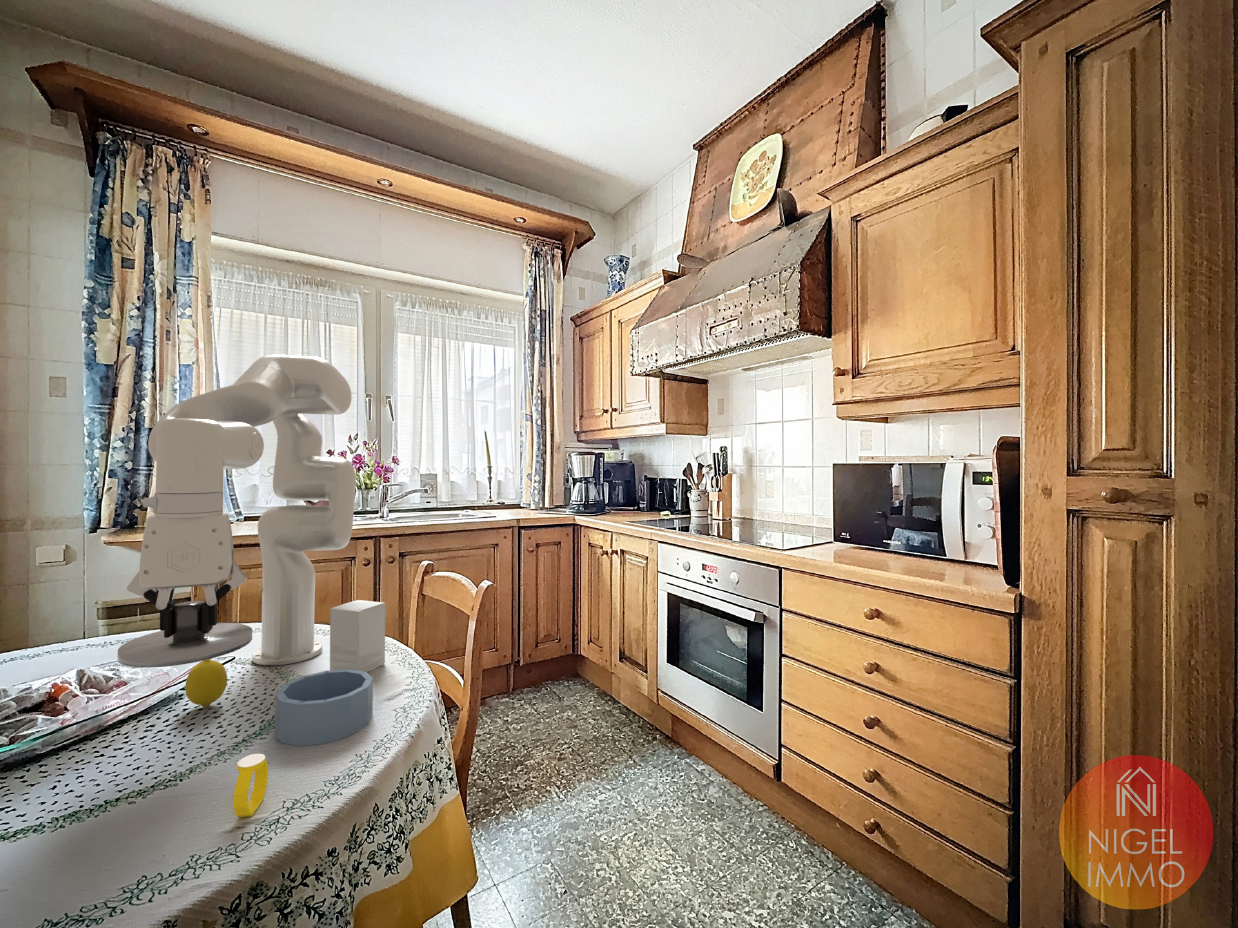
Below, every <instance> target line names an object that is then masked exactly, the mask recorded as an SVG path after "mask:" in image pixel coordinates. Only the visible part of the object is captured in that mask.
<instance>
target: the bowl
mask: <svg viewBox="0 0 1238 928" xmlns="http://www.w3.org/2000/svg"><path fill="white" fill-rule="evenodd" d="M274 696H275V697H274V734H275V736H276V738H277V740H278V742H279V743H283V744H288V745H291V746H296V747H301V746H313V745H323V744H324V745H325V744H328V743H332V742H334V741H338V740H341V739H344V738H348V737H350V736H352V735H354V734H355V733H357V732H359V731H361V729H364V728H365V727H367V726H368V725H369V723H370V721H371V719H372V717H373V711H374V710H373V706H374V702H373V698H374V677H372V676H371V675H370V674H369V673H368V672H363V671H357V670H350V669H346V670H331V671H330V670H325V671H324V670H323V671H319V672H314V673H312V674H311V673H310V674H307V675H303V676H300V677H298V678H295V679H293V680H291V681H289V682H286V683H284V684H283V685H282V686H281V687H280V688H279V689H278V690H276V692H275V693H274Z"/></svg>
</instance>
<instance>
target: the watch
mask: <svg viewBox="0 0 1238 928" xmlns="http://www.w3.org/2000/svg"><path fill="white" fill-rule="evenodd" d="M267 761H268V760H267V758H266V755H265V754H263V753H252V754H249V755H246V756H244V757H242V758H241V759H240V760H238V761H237V765H236V769H237V771H238V772H239V774H238V776H237V779H236V781H235V782H236V783H235V787H234V792H233V793H234V794H233V804H232V805H233V812H234V816H236V817H237V818H239V817H241V818H246V817H247V818H249V817H252V816H255V815H254V814H255V812H256V811H257V809H258V808H259V807H260V805H261V803H262V802H263V801H264V798H265V794H266V790H267V785H268V780H269V764H268V762H267ZM253 775H254V782H253V788H252V792H251V795H250V798H249V790H250V786H251V780H252V777H253Z"/></svg>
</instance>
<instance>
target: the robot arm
mask: <svg viewBox="0 0 1238 928" xmlns="http://www.w3.org/2000/svg"><path fill="white" fill-rule="evenodd" d="M351 403H352V390H351V386H350V384H349V383H348V380H347V379H346V378H345V377H344V376H343V375H342V373H341V372H340V371H339V370H338V369H337V368H336V367H335V366H334V365H333V364H332V363H330V362H329V361H328V360H326V359H323V358H321V357H318V356H306V355H305V356H304V355H303V356H302V355H287V354H269V355H265V356H262V357H260V358H258V359H257V360H255V361H254V362H253V363H252V364H251V365H249V367H248V368H247V369H246V371H245V372H243V374H241V375H240V376H239V378H238V379H237V380H236V381H235V382H234V383H233V384H230V385H228V386H227V385H226V386H224V387H221V388H216V389H214V390H211V391H207V392H206V393H202V394H198V395H195V396H193V397H190V398H188V399H184V400H182V401H181V402H179V403H177V404H175V405H174V406H173V407H172V408H170V409H169V410H168V411H167V412H166V413H165V414H163V415H162V417H160V419H158V421H157V422H156V423H155V425H154V426H153V428H152V429H151V431H150V433H149V437H148V443H147V446H148V448H147V449H148V452H149V454H150V456H151V458H152V459H153V460H154V461H155V462H156V465H155V466H156V467H155V468H156V471H155V473H156V474H155V476H156V477H155V479H156V480H155V483H156V486H155V493H154V495H152V496H150V497H143V499H142V507H143V508H149V509H152V510H153V512H154V513H155V515H149V516H147V518H146V523H145V525H144V526H145V527H144V532H143V537H142V543H141V550H140V558H139V568H138V570H139V571H138V572H137V573H136V574H135V576H134V577H133V578H132V580H131V581H130V583H128V585H127V587H126V590H127V591H128V592H129V593H132V594H135V595H137V596H140V597H143V598H145V599H146V600H147V601H148V602H150V603H151V604H153V606H155V608H156V609H157V610H159V631H163V630H164V638H169V637H170V636H172V635H173V606H174V605H175V604H176V603H175V600H174V597H175V592H176V589H177V588H189V587H191V588H192V587H193V588H194V587H203V591H204V597H205V598H204V599H205V600H204V602H205V605H204V606H203V607H202V630H201V632H202V633H203V634H208V633H209V632H210V630H211V629H212V628H213V626H215V625H216V624H217V623H218V615H219V614H218V612H219V611H218V606H219V605H218V602H219V601H220V600H221V599H223V598H224V597H225V596H226V595H227V594H228V593H229V592H230V591H232V590H234V589H236V588H238V587H240V586H241V585H244V583H246V582H247V581H248V577H247V576H246V574H245V573H244V571H243V570H242V568H241V567H240V566H239V565H238V564H237V562H236V561H235V551H234V549H235V548H234V537H233V531H232V525H231V520H230V516H229V513H227V512H224V510H223V509H224V470H239V469H240V470H241V469H246V468H249V467H251V466H253V465H255V464H256V463H257V462H258V461H260V459H261V457H262V455H263V453H264V449H265V442H264V439H263V436H262V434H261V432H260V431H259V430H258V429H257V428H256V427H259V426H262V425H266V424H269V423H271V422H272V423H273V424H274V427H275V428H274V429H276V435H277V441H276V443H277V444H276V450H275V451H276V452H275V459H274V467H273V477H272V490H273V493H274V494H275V495H276V497H278V498H280V499H282V500H287V501H327V502H328V505H280V506H275V507H272V508H269V509H267V510H265V511H264V512H263V513H262V514H261V515H260V517H259V519H258V522H257V536H258V540H259V546H260V551H261V552H260V553H261V560H262V561H261V564H262V566H261V567H262V584H261V585H262V586H261V587H262V589H261V648H259V649H257V650H255V651H254V653H252V655H251V656H252V657H251V661H252V662H253V663H255V664H256V665H260V666H282V665H290V664H295V663H300V662H303V661H306V660H309V659H311V658H312V659H313V658H315V657H316V656H318V655H320V654H321V652H322V651H323V644H322V643H320V642H319V641H317V640H316V641H315V605H316V604H315V598H316V597H315V595H316V589H315V588H316V570H315V567H314V565H313V562H311V559H309V557H308V556H307V555H306V553H304V552H312V551H315V552H316V551H317V552H319V551H338V550H342V549H344V548H346V547H347V546H348V544H349V543H350V541H351V538H352V534H353V533H352V532H353V524H354V522H353V521H354V512H355V501H356V489H357V488H356V486H357V483H356V482H357V481H356V480H357V477H356V471H355V467H354V465H353V464H352V462H351V461H350V460H348V459H346V458H343V457H335V456H333V457H332V456H330V457H328V456H322V447H323V436H322V434H321V432H320V431H319V429H318V428H317V426H316V425H315V424H314V423H313V422H312V421H311V420H310V419H309V418H308V417H307V416H306V415H328V416H330V415H332V416H333V415H337V416H338V415H342V414H345V413H346V412H347V411H348V410H349V408H350V406H351ZM305 414H306V415H305ZM230 577H231V579H230V580H229V581H227V580H228V579H229V578H230ZM226 581H227V582H226ZM224 582H225V583H224ZM222 583H224V584H223V585H222V586H220V584H222Z"/></svg>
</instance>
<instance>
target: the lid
mask: <svg viewBox="0 0 1238 928" xmlns="http://www.w3.org/2000/svg"><path fill="white" fill-rule="evenodd" d="M174 604H175V605H174V606H173V635H172V636H170V637H169V638H164V630H163V631H160V630H159V631H155V632H152V633H148V634H144V635H141V636H139V637H136V638H133V639H131V640H129V641H126V642H125V643H123V644H122V645H121V646H119V647H118V649H117V662H118V663H119V664H120V665H122V666H125V667H130V668H144V669H145V668H146V669H151V668H162V667H163V668H165V667H175V666H181V665H188V664H193V663H198V662H199V663H200V662H203V661H204V660H208V659H210V660H212V659H215V658H219V657H222V656H225V655H228V654H231V653H234V652H236V651H238V650H240V649H242V648H244V647H246V646H248V645H249V644H250V643H251V641H252V640H253V628H252V627H251V626H249V625H246V624H242V623H236V622H217V624H216V625H215V626H213V628H212V629H211V630H210V632H209V633H208V634H203V633H202V632H201V630H202V607H203V606H204V605H205V600H192V601H191V600H190V601H184V602H178V603H174Z"/></svg>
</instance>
